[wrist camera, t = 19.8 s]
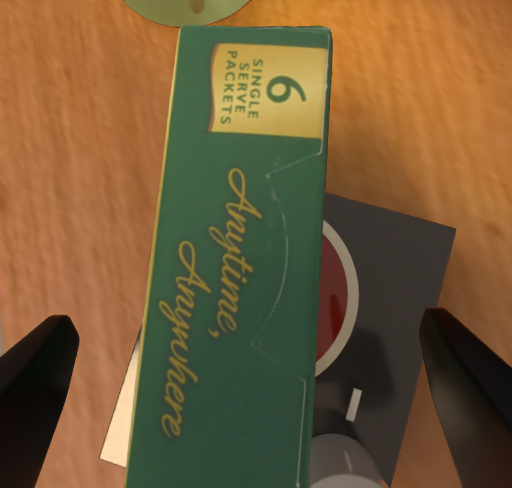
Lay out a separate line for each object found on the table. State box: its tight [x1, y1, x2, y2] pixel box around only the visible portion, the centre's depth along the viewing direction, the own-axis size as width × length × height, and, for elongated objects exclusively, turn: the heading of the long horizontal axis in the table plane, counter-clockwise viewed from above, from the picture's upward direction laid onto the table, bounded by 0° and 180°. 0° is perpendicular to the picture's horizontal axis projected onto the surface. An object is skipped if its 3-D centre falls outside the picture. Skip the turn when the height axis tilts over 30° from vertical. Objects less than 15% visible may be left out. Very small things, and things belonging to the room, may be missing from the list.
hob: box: [99, 192, 456, 488], centre depth 20 cm, size 17×15×3 cm
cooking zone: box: [315, 220, 359, 377], centre depth 19 cm, size 9×9×1 cm
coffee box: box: [124, 25, 333, 488], centre depth 12 cm, size 8×3×13 cm, turn 175°
